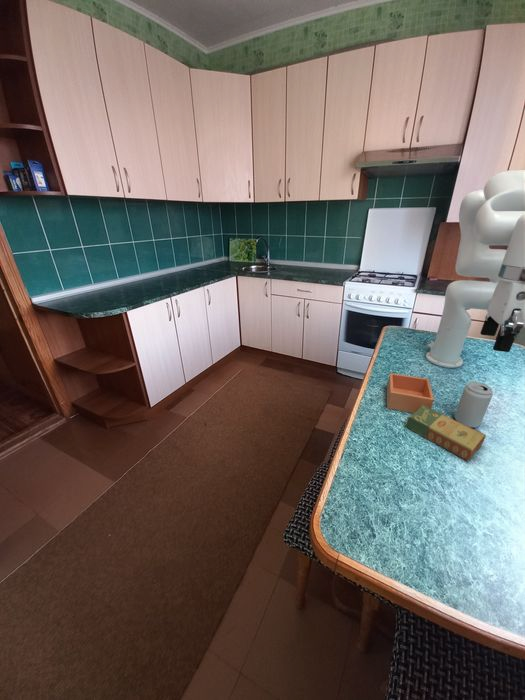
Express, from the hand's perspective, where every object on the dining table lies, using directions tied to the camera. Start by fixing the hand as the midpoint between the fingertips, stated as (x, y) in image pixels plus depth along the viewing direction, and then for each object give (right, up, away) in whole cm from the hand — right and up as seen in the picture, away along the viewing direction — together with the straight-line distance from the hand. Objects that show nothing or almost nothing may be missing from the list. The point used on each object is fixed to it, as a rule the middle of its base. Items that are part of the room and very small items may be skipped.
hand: (493, 342), depth 73 cm
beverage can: (+1, -23, +11) cm, 25 cm away
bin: (-12, -18, +20) cm, 29 cm away
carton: (-10, -25, +6) cm, 28 cm away
